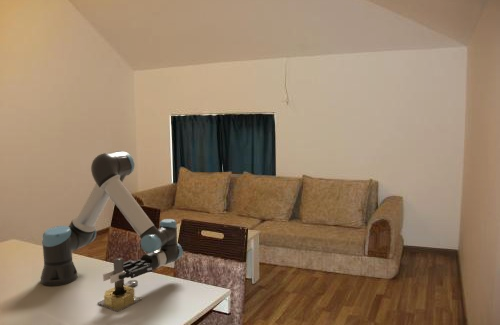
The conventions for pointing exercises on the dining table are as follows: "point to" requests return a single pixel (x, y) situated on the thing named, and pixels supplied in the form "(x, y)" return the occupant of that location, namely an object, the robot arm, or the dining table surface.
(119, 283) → the steel pin
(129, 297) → the ring nut
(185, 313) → the dining table surface
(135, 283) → the grey bar with ball
